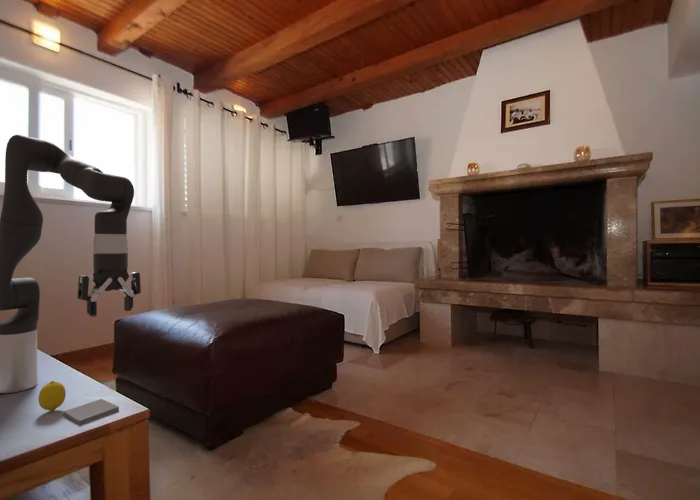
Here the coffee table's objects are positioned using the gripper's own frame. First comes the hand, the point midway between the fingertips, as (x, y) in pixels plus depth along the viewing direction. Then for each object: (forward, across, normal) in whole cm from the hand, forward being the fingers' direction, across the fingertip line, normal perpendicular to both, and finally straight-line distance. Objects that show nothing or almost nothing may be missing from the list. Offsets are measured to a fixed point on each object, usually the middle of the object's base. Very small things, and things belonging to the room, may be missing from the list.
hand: (110, 313), depth 95 cm
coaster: (+26, +3, -3) cm, 26 cm away
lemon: (+26, +8, -13) cm, 30 cm away
